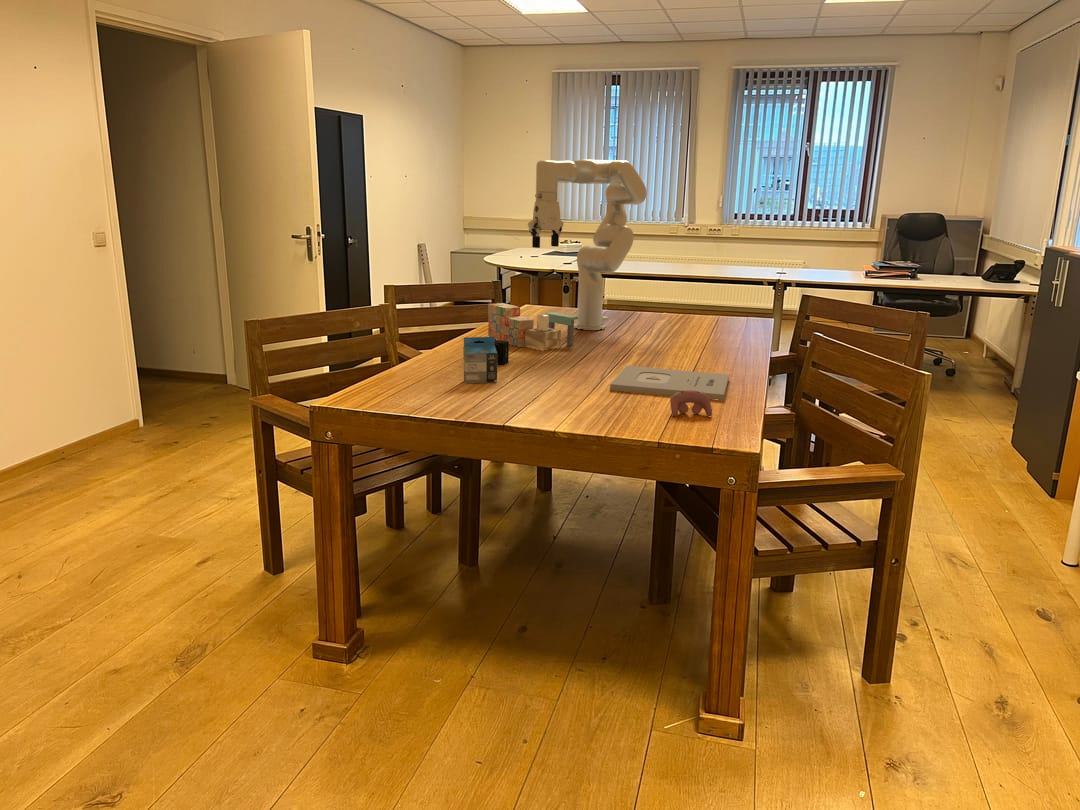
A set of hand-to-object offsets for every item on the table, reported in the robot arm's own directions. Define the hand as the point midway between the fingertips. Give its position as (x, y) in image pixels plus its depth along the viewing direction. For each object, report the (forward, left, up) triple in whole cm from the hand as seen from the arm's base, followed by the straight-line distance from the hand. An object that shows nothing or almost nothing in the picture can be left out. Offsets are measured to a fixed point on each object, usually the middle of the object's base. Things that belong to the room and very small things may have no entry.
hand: (545, 247), depth 278 cm
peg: (+17, +16, -31) cm, 38 cm away
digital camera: (+47, +22, -32) cm, 61 cm away
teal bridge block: (+6, +14, -32) cm, 35 cm away
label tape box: (+65, +39, -32) cm, 82 cm away
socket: (+16, +16, -32) cm, 39 cm away
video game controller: (+48, +96, -32) cm, 112 cm away
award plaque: (+26, +76, -33) cm, 86 cm away
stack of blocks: (+18, +1, -32) cm, 37 cm away
